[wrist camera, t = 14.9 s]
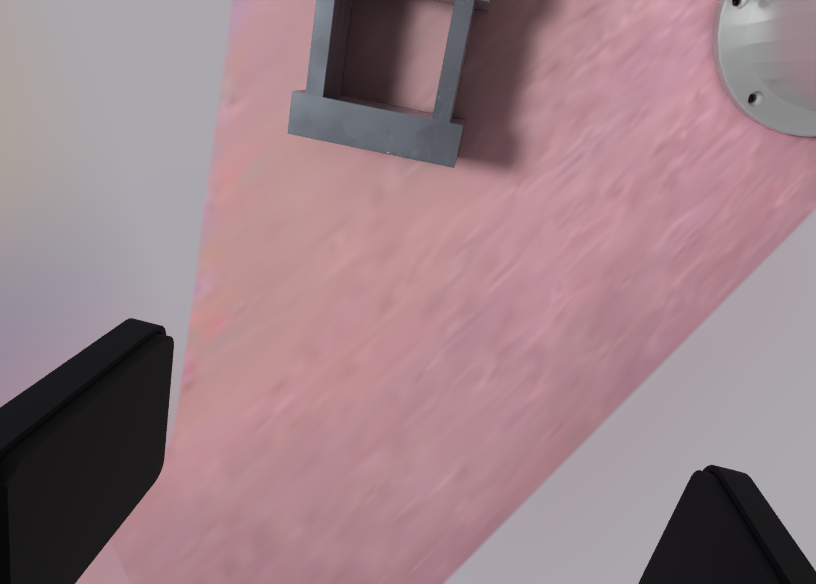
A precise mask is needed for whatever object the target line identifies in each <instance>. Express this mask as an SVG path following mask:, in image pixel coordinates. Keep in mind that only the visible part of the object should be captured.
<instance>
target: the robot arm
mask: <svg viewBox="0 0 816 584" xmlns="http://www.w3.org/2000/svg"><path fill="white" fill-rule="evenodd" d="M713 55H714V61H715V66H716V71H717V74H718V76H719V79H720V81H721V84H722V86H723V89H724V90H725V92H726V93H727V95H728V96H729V98H730V99H731V101H732V102H733V103H734V105H735V106H736V107H737V108H738V109H739V110H740V111H742V112H743V113H744V114H745V115H746V116H747V117H748V118H749V119H751V120H753V121H755V122H756V123H758V124H760V125H762V126H764V127H765V128H768V129H771V130H775V131H778V132H781V133H784V134H790V135H797V136H802V137H816V0H738V4H737V5H736V6H733V4H732V0H720V1H719V3H718V7H717V12H716V17H715V22H714V26H713ZM750 94H752V95H753V100H752V102H750V103H748V97H749V96H750ZM173 350H174V341H173V338H172V337H170V336H166V331H165V328H164V327H163V326H160V325H156V324H152V323H148V322H144V321H141V320H136V319H131V318H130V319H128V320H125V321H124V322H123V323H121V324H120V325H118V326H117V327H115V328H114V329H113V330H111V331H110V332H108V333H107V334H106V335H104V336H102V337H101V338H100V339H98V340H97V341H95V342H94V343H92V344H91V345H90V346H88V347H87V348H85V349H84V350H82V351H81V352H80V353H78V354H77V355H75V356H74V357H72V358H71V359H70V360H68V361H67V362H65V363H64V364H62V365H61V366H60V367H58V368H57V369H55V370H54V371H52V372H51V373H49V374H48V375H46V376H45V377H44V378H42V379H41V380H39V381H38V382H37V383H35V384H34V385H32V386H31V387H30V388H28V389H26V390H25V391H23V392H22V393H21V394H19V395H18V396H16V397H15V398H14V399H12V400H11V401H9V402H8V403H6V404H5V405H3V406H2V407H1V408H0V584H75V583H76V582H77V580H78V579H79V578H80V576H81V575H82V574H83V573H84V571H85V570H86V569H87V568H88V566H89V565H90V564H91V562H92V561H93V560H94V559H95V557H96V556H97V555H98V554H99V552H100V551H101V550H102V549H103V547H104V546H105V545H106V543H107V542H108V541H109V540H110V538H111V537H112V536H113V535H114V533H115V532H116V531H117V530H118V528H119V527H120V526H121V524H122V523H123V522H124V521H125V519H126V518H127V517H128V516H129V514H130V513H131V512H132V511H133V509H134V508H135V507H136V505H137V504H138V503H139V502H140V500H141V499H142V498H143V497H144V495H145V494H146V493H147V492H148V490H149V489H150V488H151V486H152V485H153V484H154V483H155V481H156V480H157V478H158V476H159V474H160V472H161V470H162V467H163V463H164V455H165V443H166V431H167V420H168V419H167V418H168V408H169V397H170V385H171V373H172V362H173ZM639 584H816V571H815V570H814V568H813V567H812V566H811V564H810V562H809V561H808V560H807V558H806V557H805V555H804V554H803V552H802V551H801V550H800V548H799V547H798V545H797V544H796V542H795V541H794V539H793V538H792V537H791V535H790V534H789V532H788V531H787V529H786V528H785V527H784V525H783V524H782V522H781V521H780V519H779V518H778V516H777V515H776V514H775V512H774V511H773V509H772V508H771V507H770V505H769V503H768V502H767V501H766V499H765V498H764V496H763V495H762V494H761V492H760V491H759V489H758V488H757V486H756V485H755V483H754V482H753V480H752V479H751V478H750V477H749V476H748V475H747V474H745V473H742V472H739V471H735V470H731V469H727V468H723V467H719V466H715V465H710V466H707V467H706V468H705V469H704V470H703V471H701V470H698V471H696V472H694V473H693V475H692V476H691V478H690V480H689V482H688V484H687V486H686V488H685V490H684V492H683V494H682V496H681V498H680V500H679V502H678V504H677V506H676V508H675V510H674V512H673V514H672V517H671V519H670V520H669V522H668V524H667V527H666V529H665V531H664V533H663V535H662V537H661V539H660V541H659V543H658V545H657V547H656V549H655V551H654V553H653V555H652V557H651V559H650V561H649V563H648V565H647V567H646V569H645V571H644V573H643V576H642V577H641V579H640V581H639Z"/></svg>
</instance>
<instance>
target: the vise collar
mask: <svg viewBox="0 0 816 584" xmlns="http://www.w3.org/2000/svg"><path fill="white" fill-rule="evenodd" d="M435 1H440V2H445V3H450V4H454V8H453V13H452V19H451V24H450V29H449V34H448V39H447V45H446V50H445V55H444V60H443V65H442V71H441V76H440V81H439V86H438V91H437V97H436V102H435V107H434V112H433V114H432V113H428V112H423V111H418V110H413V109H408V108H403V107H398V106H393V105H388V104H383V103H378V102H373V101H368V100H363V99H358V98H353V97H348V96H343V95H340V92H341V85H342V77H343V70H344V62H345V55H346V47H347V40H348V33H349V25H350V18H351V10H352V3H353V0H316V7H315V16H314V25H313V34H312V43H311V51H310V60H309V69H308V78H307V87H306V90H300V91H292V97H291V107H290V116H289V126H288V134H292V135H297V136H302V137H307V138H312V139H317V140H322V141H326V142H331V143H336V144H341V145H346V146H351V147H356V148H361V149H365V150H370V151H375V152H380V153H385V154H390V155H395V156H399V157H404V158H409V159H414V160H419V161H424V162H429V163H434V164H438V165H443V166H448V167H453V168H454V167H455V163H456V160H457V156H458V151H459V146H460V141H461V137H462V132H463V127H464V123H465V120H462V119H457V118H453V114H454V109H455V104H456V99H457V94H458V89H459V85H460V80H461V75H462V70H463V65H464V60H465V55H466V50H467V45H468V41H469V36H470V31H471V26H472V21H473V16H474V11H475V8H476V9H481V10H487V11H488V10H489V5H490V0H435Z"/></svg>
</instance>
